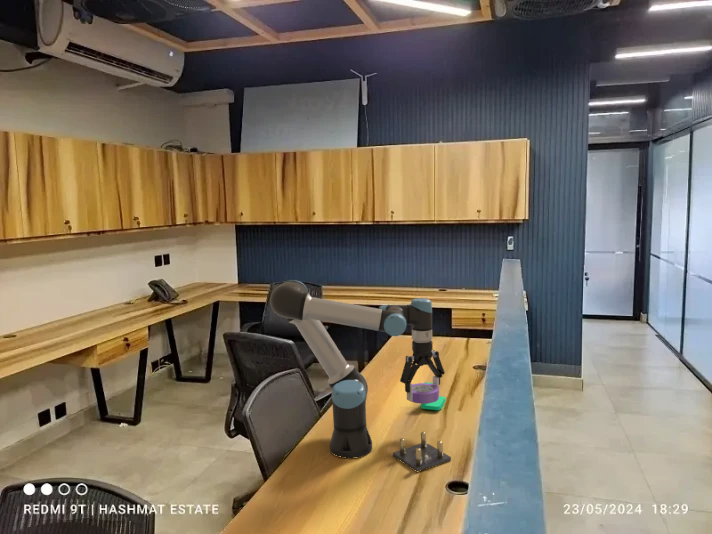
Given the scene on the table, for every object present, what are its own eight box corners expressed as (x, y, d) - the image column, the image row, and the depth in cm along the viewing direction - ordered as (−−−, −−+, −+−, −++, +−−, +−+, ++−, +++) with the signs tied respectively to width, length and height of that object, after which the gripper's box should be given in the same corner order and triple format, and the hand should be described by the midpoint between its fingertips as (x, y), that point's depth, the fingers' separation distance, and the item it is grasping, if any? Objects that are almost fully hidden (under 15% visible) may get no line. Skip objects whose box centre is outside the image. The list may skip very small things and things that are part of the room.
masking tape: (420, 406, 192) (420, 395, 191) (401, 396, 201) (401, 387, 201) (445, 399, 198) (445, 389, 197) (425, 390, 207) (425, 381, 207)
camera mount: (439, 413, 218) (438, 388, 217) (421, 410, 222) (420, 387, 220) (446, 402, 229) (445, 379, 228) (429, 400, 232) (428, 378, 231)
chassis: (417, 472, 171) (416, 454, 170) (392, 455, 183) (392, 438, 182) (451, 460, 178) (450, 442, 177) (425, 445, 190) (424, 428, 189)
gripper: (401, 347, 188) (402, 406, 190) (453, 337, 200) (454, 393, 202) (389, 343, 194) (391, 400, 197) (441, 333, 206) (441, 387, 209)
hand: (423, 396), depth 199 cm, fingers closed on masking tape, 12 cm apart
